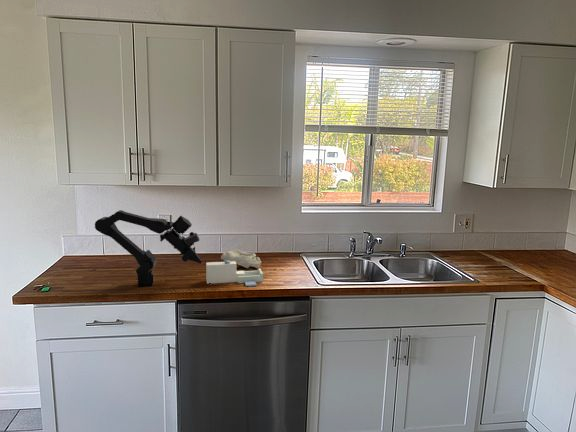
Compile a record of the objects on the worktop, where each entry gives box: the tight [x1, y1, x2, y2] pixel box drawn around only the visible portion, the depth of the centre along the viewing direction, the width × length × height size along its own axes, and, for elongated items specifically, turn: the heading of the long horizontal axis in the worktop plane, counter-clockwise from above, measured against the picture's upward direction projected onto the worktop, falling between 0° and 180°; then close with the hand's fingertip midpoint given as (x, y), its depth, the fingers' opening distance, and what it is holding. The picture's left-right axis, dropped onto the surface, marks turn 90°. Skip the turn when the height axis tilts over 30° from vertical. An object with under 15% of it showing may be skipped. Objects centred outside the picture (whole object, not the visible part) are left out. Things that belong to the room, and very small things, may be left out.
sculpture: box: [220, 249, 262, 269], centre depth 229 cm, size 24×11×15 cm
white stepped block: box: [205, 260, 245, 285], centre depth 202 cm, size 18×4×10 cm, turn 103°
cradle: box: [237, 267, 264, 288], centre depth 205 cm, size 12×20×4 cm, turn 13°
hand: (201, 262), depth 198 cm, fingers closed
